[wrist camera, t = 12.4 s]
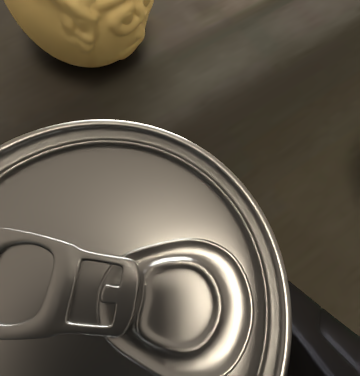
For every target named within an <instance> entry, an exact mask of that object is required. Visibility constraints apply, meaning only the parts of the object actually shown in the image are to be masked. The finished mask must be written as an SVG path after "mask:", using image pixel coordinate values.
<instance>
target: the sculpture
mask: <svg viewBox="0 0 360 376" xmlns="http://www.w3.org/2000/svg"><path fill="white" fill-rule="evenodd" d="M4 2H5V4H6V6H7V7H8V9H9V11H10V13H11V14H12V16H13V17H14V19H15V20H16V22H17V23H18V25H19V26H20V27H21V28H22V30H23V31H24V32H25V33H26V34H27V35H28V36H29V37H30V38H31V39H32V40H33V41H34V42H35V43H36V44H37V45H38V46H39V47H40V48H42V49H43V50H44V51H46V52H47V53H48V54H50V55H52V56H53V57H55V58H57V59H59V60H61V61H63V62H66V63H68V64H72V65H75V66H80V67H101V66H105V65H109V64H111V63H114V62H116V61H118V60H122V59H125V58H127V57H128V56H129V55H131V54H132V53H133V52H134V51H135V49H136V48H137V46H138V45H139V44H140V43H141V42H142V41H143V39H144V37H145V26H146V22H147V18H148V15H149V12H150V10H151V8H152V5H153V2H154V0H4Z"/></svg>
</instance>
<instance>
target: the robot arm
mask: <svg viewBox="0 0 360 376" xmlns="http://www.w3.org/2000/svg"><path fill="white" fill-rule="evenodd" d="M288 284H289V291H290V299H291V312H292V339H291V352H290V360H289V367H288V373H287V376H360V337H359V336H358V335H356V334H355V333H354V332H352V331H351V330H350V329H349V328H347V327H346V326H345V325H343V324H342V323H341V322H339V321H338V320H337V319H336V318H334V317H333V316H332V315H331V314H329V313H328V312H327V311H326V310H324V309H323V308H321V307H320V306H319V305H318V304H317V303H316V302H314V301H313V300H312V299H311V298H309V297H308V296H307V295H306V294H304V293H303V292H302V291H301V290H299V289H298V288H297V287H296V286H294V285H293V284H292V283H291V282H289V281H288Z"/></svg>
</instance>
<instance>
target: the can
mask: <svg viewBox="0 0 360 376" xmlns="http://www.w3.org/2000/svg"><path fill="white" fill-rule="evenodd" d="M291 339H292V312H291V299H290V291H289V284H288V279H287V274H286V270H285V265H284V262H283V258H282V255H281V252H280V249H279V246H278V243H277V241H276V238H275V236H274V233H273V231H272V229H271V227H270V225H269V222H268V221H267V219H266V217H265V215H264V213H263V211H262V210H261V208H260V206H259V205H258V203H257V202H256V200H255V199H254V197H253V196H252V195H251V193H250V192H249V191H248V189H247V188H246V187H245V186H244V184H243V183H242V182H241V181H240V180H239V179H238V178H237V177H236V176H235V174H234V173H233V172H231V171H230V170H229V169H228V168H227V167H226V166H225V165H224V164H223V163H222V162H220V161H219V160H218V159H217V158H216V157H214V156H213V155H212V154H210V153H209V152H207V151H206V150H204V149H203V148H201V147H200V146H198V145H196V144H195V143H193V142H191V141H189V140H187V139H185V138H183V137H181V136H179V135H177V134H174V133H172V132H169V131H166V130H164V129H161V128H157V127H154V126H150V125H146V124H142V123H136V122H130V121H122V120H106V119H98V120H82V121H73V122H67V123H61V124H57V125H52V126H48V127H45V128H41V129H38V130H35V131H32V132H29V133H26V134H24V135H21V136H19V137H16V138H14V139H12V140H10V141H7V142H5V143H3V144H1V145H0V376H287V373H288V367H289V360H290V352H291Z"/></svg>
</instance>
